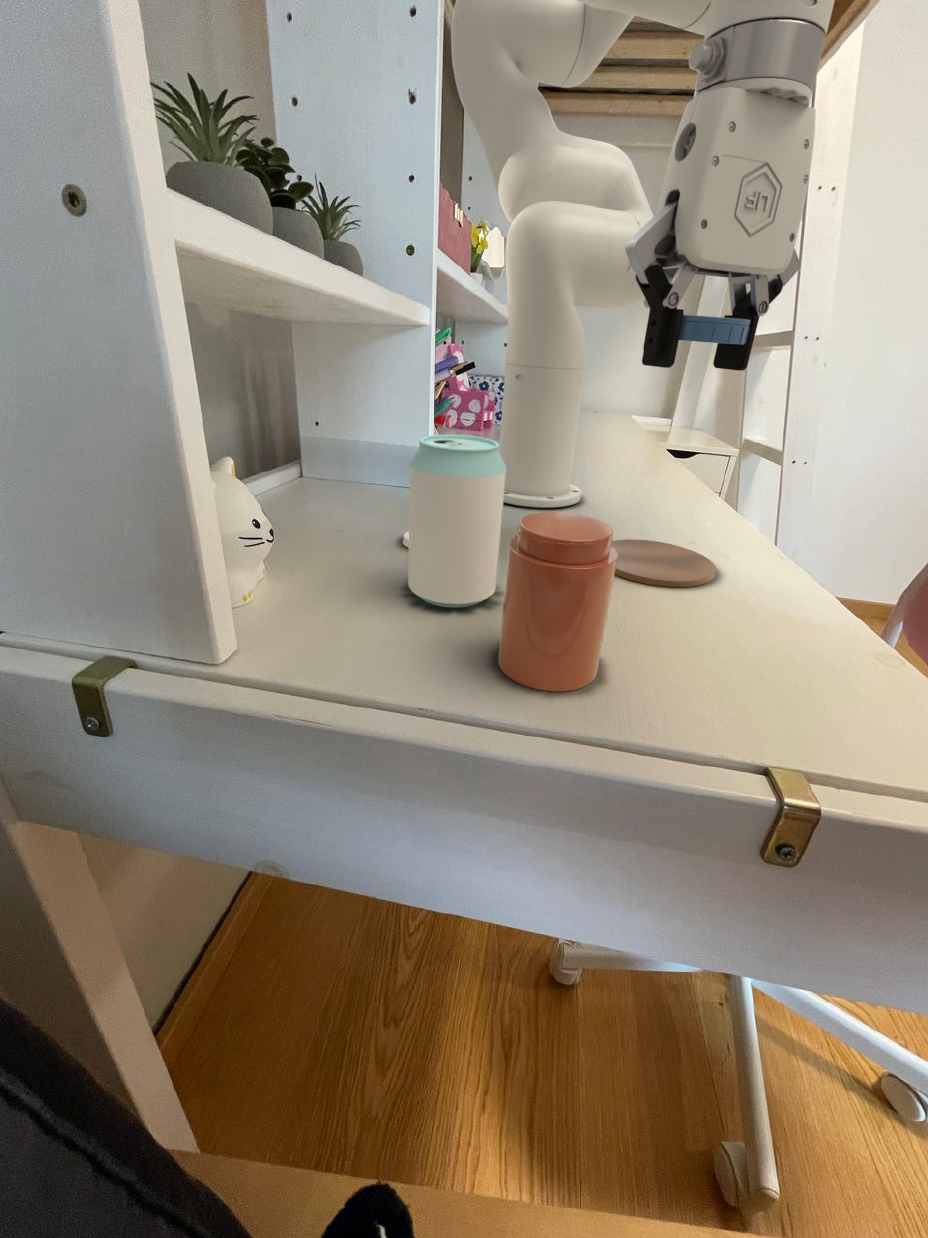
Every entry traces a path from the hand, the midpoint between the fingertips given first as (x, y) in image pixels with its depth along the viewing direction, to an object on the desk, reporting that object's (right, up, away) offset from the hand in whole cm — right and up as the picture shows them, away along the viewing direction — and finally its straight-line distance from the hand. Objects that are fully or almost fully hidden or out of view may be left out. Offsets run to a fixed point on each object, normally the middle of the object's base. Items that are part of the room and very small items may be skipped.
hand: (694, 365), depth 48 cm
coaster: (-1, -15, +8) cm, 18 cm away
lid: (0, +3, -1) cm, 3 cm away
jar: (-13, -24, -9) cm, 29 cm away
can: (-20, -19, 0) cm, 27 cm away
